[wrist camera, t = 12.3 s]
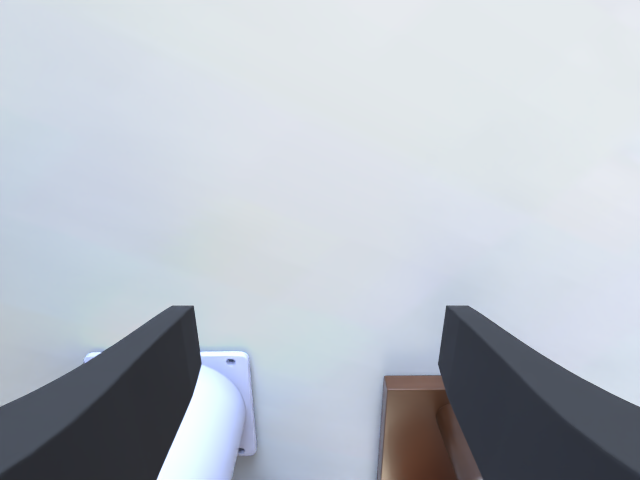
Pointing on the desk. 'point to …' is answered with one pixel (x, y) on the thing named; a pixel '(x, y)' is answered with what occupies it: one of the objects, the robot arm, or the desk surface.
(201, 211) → the desk surface
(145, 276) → the desk surface
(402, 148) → the desk surface
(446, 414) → the rack
